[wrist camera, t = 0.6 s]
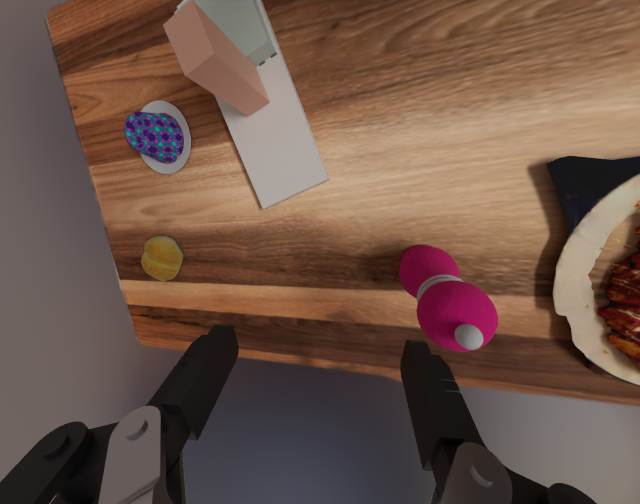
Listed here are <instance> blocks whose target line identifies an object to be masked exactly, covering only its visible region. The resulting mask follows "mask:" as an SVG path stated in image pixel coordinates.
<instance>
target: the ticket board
mask: <svg viewBox="0 0 640 504" xmlns="http://www.w3.org/2000/svg"><path fill="white" fill-rule="evenodd" d="M189 1H190V0H183V1H182V2H181V3H180V4H179V5H178V6H177V8H178V9H177V10H176V11H175V12H174V14H176V13H177V12H178V11H179V10H180V9H181V8H182V7H183V6H184V5H186V4H187V3H188V2H189ZM193 1H194V2H195V3H196V4H197V5H198V6H199V7H200V8H201V9H202V10H203V11H204V12H205V13H206V15H207V16H208V17H209V18H210V19H211V20H212V21H213V22H214V23H215V24H216V25H217V26H218V27H219V28H220V30H221V31H222V32H223V33H224V34H225V35H226V36H227V37H228V38H229V39H230V40H231V41H232V42H233V43H234V45H235V46H236V47H237V48H238V49H239V50H240V51H241V52H242V53H243V54H244V55H245V56H246V57H247V58H248V60H249V61H250V62H251V63H252V64H253V65H254V66H255V67H256V68H257V71H258V73H259V76H260V78H261V81H262V83H263V86H264V89H265V91H266V94H267V96H268V99H269V101H270V103H268V104H267V105H265V106H264V107H262V108H260V109H259V110H257V111H256V112H254V113H253V114H251V115H249V116H247V115H246V114H244V113H243V112H241V111H239V110H238V109H236V108H235V107H233V106H232V105H230V104H228V103H227V102H225V101H224V100H222V99H221V98H219V97H217V96H216V95H215V98H216V100H217V102H218V105H219V107H220V109H221V112H222V114H223V116H224V119H225V121H226V123H227V126H228V128H229V131H230V133H231V135H232V138H233V140H234V142H235V145H236V147H237V149H238V152H239V154H240V156H241V159H242V161H243V163H244V166H245V168H246V170H247V173H248V175H249V178H250V180H251V182H252V185H253V187H254V189H255V192H256V194H257V196H258V199H259V201H260V203H261V206H262V208H263V209H267V208H270V207H272V206H274V205H276V204H278V203H280V202H283V201H285V200H287V199H289V198H291V197H294V196H296V195H298V194H300V193H302V192H304V191H307V190H309V189H311V188H313V187H315V186H317V185H320V184H322V183H324V182H326V181H328V180H330V178H329V176H328V173H327V171H326V168H325V165H324V163H323V160H322V157H321V155H320V152H319V149H318V147H317V144H316V142H315V139H314V136H313V134H312V131H311V128H310V126H309V123H308V121H307V118H306V115H305V113H304V110H303V107H302V105H301V102H300V99H299V97H298V94H297V92H296V89H295V86H294V84H293V81H292V78H291V76H290V73H289V71H288V68H287V65H286V63H285V60H284V57H283V55H282V52H281V49H280V47H279V44H278V42H277V39H276V36H275V34H274V31H273V28H272V26H271V23H270V21H269V18H268V15H267V13H266V10H265V7H264V5H263V2H262V0H193Z"/></svg>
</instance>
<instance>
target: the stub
mask: <svg viewBox="0 0 640 504" xmlns="http://www.w3.org/2000/svg"><path fill="white" fill-rule="evenodd" d="M163 27H164V29H165V31H166V33H167V36H168V38H169V40H170V43H171V45H172V47H173V49H174V52H175V54H176V56H177V59H178V61H179V63H180V66H181V68H182V70H183V72H184V75H185V76H186V77H187V78H189V79H191V80H192V81H194V82H195V83H197V84H198V85H200V86H202V87H203V88H205V89H206V90H208V91H209V92H211V93H213V94H214V95H216V96H217V97H219V98H221V99H222V100H224V101H225V102H227V103H228V104H230V105H232V106H233V107H235V108H236V109H238V110H239V111H241V112H243V113H244V114H246V115H247V116H249V115H251V114H253V113H254V112H256V111H257V110H259V109H260V108H262V107H264V106H265V105H267V104H268V103H270V101H269V99H268V96H267V94H266V91H265V89H264V86H263V83H262V81H261V78H260V76H259V73H258V71H257V68H256V67H255V66H254V65H253V64H252V63H251V62H250V61H249V60H248V58H247V57H246V56H245V55H244V54H243V53H242V52H241V51H240V50H239V49H238V48H237V47H236V46H235V45H234V43H233V42H232V41H231V40H230V39H229V38H228V37H227V36H226V35H225V34H224V33H223V32H222V31H221V30H220V28H219V27H218V26H217V25H216V24H215V23H214V22H213V21H212V20H211V19H210V18H209V17H208V16H207V15H206V13H205V12H204V11H203V10H202V9H201V8H200V7H199V6H198V5H197V4H196V3H195V2H194V1H193V0H190V1H189V2H188V3H187V4H186V5H184V6H183V7H182V8H181V9H180V10H179V11H178V12H177V13H176V14H175V15H174V16H173V17H171V18H170V19H169V20H168V21H167V22H166V23H165V24H164V25H163Z"/></svg>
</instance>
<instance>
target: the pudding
mask: <svg viewBox="0 0 640 504" xmlns="http://www.w3.org/2000/svg"><path fill="white" fill-rule="evenodd" d="M159 113H166V114H169V115H171V116H172V117H174V118H175V119H176V120H177V122H178V123H179V125H180V127H181V129H182V131H181V129H179V128H178V127H177V122H176V121H175V119H174V118H172V117H167V116H165V114H159ZM124 132H125V134H126V139H127V141H128V143H129V144H130V145H131V146H133V148H134V149H135V150H137V151H138V152H140V154H141V156H142V158H143V160H144V161H145V162H146V163H147V165H148V166H149V167H151V168H152V169H153V170H155V171H156V172H159V173H162V174H172V173H175V172H177V171H178V170H180V169H181V168H182V167H183V166H184V164H185V163H186V161H187V159H188V156H189V153H190V146H191V138H190V132H189V128H188V125H187V122H186V120H185V118H184V117H183V115H182V114H181V112H180V111H179V110H178V109H177V108H176V107H175V106H173V105H172V104H170V103H168V102H165V101H153V102H151V103H149V104H147V105H146V106H145V107H144V108H143V109H142V110H141V112H134V113H133V114H132V115H130V116H128V117H127V119H126V125H125V126H124ZM182 132H183V133H182ZM183 136H184V148H183V146H182V143H181V142H182V140H183ZM182 150H183V152H182ZM181 153H182V154H181ZM180 154H181V156H180V158H179V159H178V160H177V161H176V159H177V155H180ZM166 161H168V162H170V163H172V162H174V161H176V162H174V163H172V164H163V163H165V162H166ZM160 162H162V163H160Z"/></svg>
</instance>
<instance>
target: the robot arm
mask: <svg viewBox="0 0 640 504" xmlns="http://www.w3.org/2000/svg"><path fill="white" fill-rule="evenodd" d="M238 350H239V348H238V343H237V339H236V335H235V330H234V327H233V326H232V325H224V324H215V325H214V326H213V327H212V329H211V330H210V332H209V333H208V335H202V336H200V337H199V338H198V339H197V340H195V341H194V342H193V343H192V344H191V345H190V346H189V348H188V349H187V351H186V352H185V353H184V356H182V357H181V359H180V360H179V362H178V363H177V365H176V366H175V367H174V368H173V370H172V371H171V372H170V374H169V375H168V377H167V378H166V379H165V381H164V382H163V384H162V385H161V386H160V388H159V389H158V390H157V392H156V393H155V394H154V396H153V397H152V399H151V400H150V401H149V402H148V404H147V405H146V406H144V407H141V408H139V409H136V410H134V411H133V412H131V413H130V414H128V415H127V416H126V417H125V418H123V419H122V420H121V421H120V422H117V423H113V424H109V425H105V426H101V427H97V428H93V429H88V428H87V427H86V426H85V424H84V423H82V422H71V423H67V424H65V425H63V426H60V427H58V428H57V429H55V430H53V431H52V432H50V433H49V434H47V435H46V436H45V437H44V438H42V439H41V440H40V441H39V442H38V443H37V444H36V445H35V446H34V447H33V448H32V449H31V450H30V451H29V452H28V453H27V454H26V456H24V458H23V459H22V460H21V461H20V462H19V463H18V464H17V465H16V466H15V467H14V468H13V469H12V470H11V471H10V472H9V473H8V475H7V476H6V477H5V478H4V479H3V480H2V481H1V482H0V504H49V503H50V502H51V500H52V499H53V498H54V496H55V495H56V497H55V498H54V500H53V501H52V502H51V504H186V496H185V479H184V466H183V465H184V463H183V451H182V449H183V447H184V445H185V443H186V441H187V439H191V440H198V439H199V437H200V435H201V433H202V431H203V428H204V426H205V424H206V422H207V420H208V418H209V416H210V414H211V412H212V410H213V408H214V406H215V404H216V401H217V399H218V397H219V395H220V393H221V391H222V389H223V387H224V385H225V383H226V381H227V378H228V376H229V374H230V372H231V370H232V368H233V366H234V364H235V362H236V359H237V356H238ZM400 370H401V377H402V382H403V386H404V390H405V395H406V399H407V403H408V408H409V412H410V416H411V420H412V425H413V429H414V433H415V437H416V442H417V447H418V451H419V455H420V460H421V464H422V468H423V470H426V471H433V474H434V477H435V481H436V486H435V489H434V492H433V495H432V498H431V501H430V504H597V503H595V502H594V501H593V500H592V499H591V498H590V497H588V496H587V495H586V494H584V493H583V492H581V491H580V490H578V489H576V488H574V487H572V486H570V485H567V484H563V483H555V484H553V485H551V487H549V488H547V487H545V486H543V485H540V484H538V483H536V482H534V481H532V480H530V479H527V478H526V477H524V476H521V475H519V474H517V473H515V472H513V471H511V470H510V469H508V468H507V467H505V466H504V465H503V464H502V463H501V462H500V461H499V460H498V458H497V457H496V456H495V455H494V454H493V453H492V452H490V451H489V450H488V449H487V447H486V446H485V444H484V443H483V441H482V439H481V437H480V435H479V432H478V430H477V428H476V426H475V423H474V421H473V419H472V417H471V414H470V412H469V410H468V408H467V406H466V403H465V401H464V399H463V397H462V395H461V394H460V390H459V388H458V385H457V383H456V382H455V379H454V376H453V374H452V372H451V370H450V367H449V366H448V365H447V364H446V363H445V361H444V360H443V359H442V358H441V357H440V356H439V355H431V352H430V349H429V347H428V344H427V343H426V341H419V340H406V343H405V347H404V351H403V355H402V359H401V364H400Z"/></svg>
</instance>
